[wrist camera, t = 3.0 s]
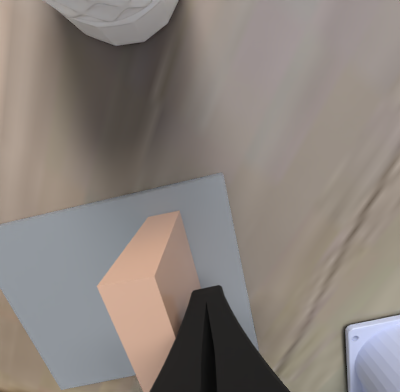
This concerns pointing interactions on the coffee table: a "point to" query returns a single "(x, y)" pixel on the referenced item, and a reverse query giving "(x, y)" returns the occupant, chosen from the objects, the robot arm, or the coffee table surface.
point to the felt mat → (98, 267)
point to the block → (151, 293)
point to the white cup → (117, 18)
